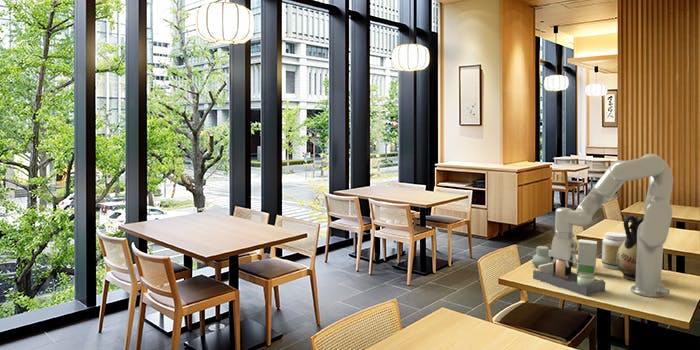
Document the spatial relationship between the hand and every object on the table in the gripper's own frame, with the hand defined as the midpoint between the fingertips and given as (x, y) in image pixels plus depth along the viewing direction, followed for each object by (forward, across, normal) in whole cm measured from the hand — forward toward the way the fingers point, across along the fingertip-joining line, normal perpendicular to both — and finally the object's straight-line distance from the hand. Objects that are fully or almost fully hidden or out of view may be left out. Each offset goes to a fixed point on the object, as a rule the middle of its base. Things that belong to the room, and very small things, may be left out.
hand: (561, 272), depth 230 cm
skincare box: (+5, +4, -24) cm, 24 cm away
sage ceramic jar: (+4, -12, 0) cm, 13 cm away
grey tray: (+5, -3, 0) cm, 6 cm away
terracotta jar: (+2, 0, 0) cm, 2 cm away
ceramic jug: (+5, -13, -34) cm, 36 cm away
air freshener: (+5, +22, -14) cm, 26 cm away
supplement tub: (+5, +2, -44) cm, 44 cm away
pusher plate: (+4, +11, 0) cm, 12 cm away
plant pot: (+5, +19, -28) cm, 34 cm away
